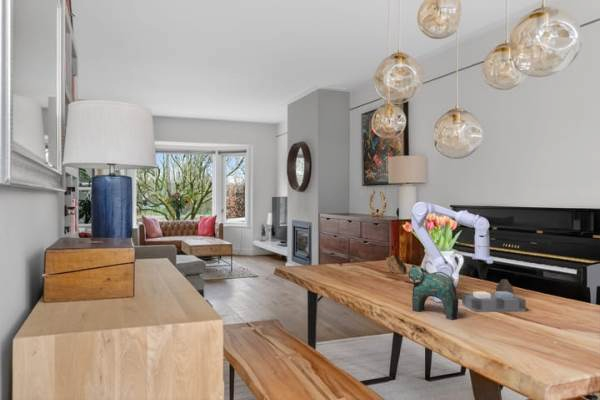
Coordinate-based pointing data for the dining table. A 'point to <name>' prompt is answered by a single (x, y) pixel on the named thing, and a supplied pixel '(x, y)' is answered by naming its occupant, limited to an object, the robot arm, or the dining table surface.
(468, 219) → the robot arm
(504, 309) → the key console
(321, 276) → the dining table surface
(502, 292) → the slate key
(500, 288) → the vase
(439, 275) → the ceramic cat
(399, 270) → the decorative rock
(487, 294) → the white block
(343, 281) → the dining table surface
